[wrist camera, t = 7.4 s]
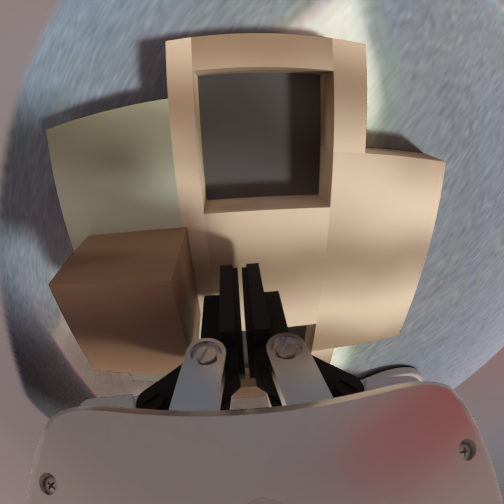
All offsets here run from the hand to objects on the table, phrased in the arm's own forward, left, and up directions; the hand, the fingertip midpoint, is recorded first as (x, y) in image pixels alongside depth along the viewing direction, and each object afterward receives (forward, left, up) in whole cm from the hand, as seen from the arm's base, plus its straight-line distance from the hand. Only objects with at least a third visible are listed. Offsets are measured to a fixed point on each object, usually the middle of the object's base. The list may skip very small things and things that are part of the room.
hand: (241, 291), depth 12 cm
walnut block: (0, +5, -1) cm, 5 cm away
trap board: (0, -1, -3) cm, 3 cm away
